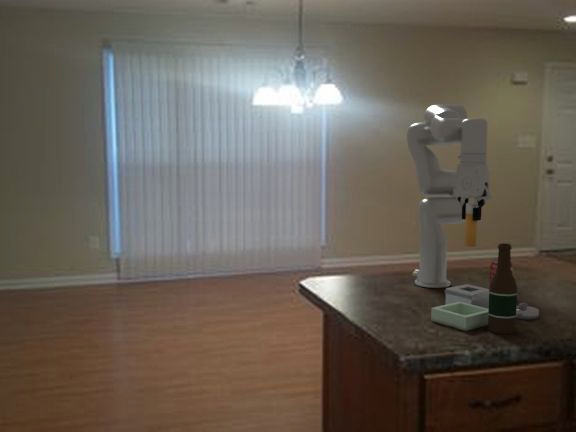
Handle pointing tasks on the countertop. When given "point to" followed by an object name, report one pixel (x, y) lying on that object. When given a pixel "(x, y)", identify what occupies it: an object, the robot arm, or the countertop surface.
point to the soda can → (494, 267)
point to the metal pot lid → (526, 312)
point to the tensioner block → (468, 295)
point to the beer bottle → (502, 295)
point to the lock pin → (470, 226)
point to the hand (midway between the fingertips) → (471, 219)
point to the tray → (460, 315)
